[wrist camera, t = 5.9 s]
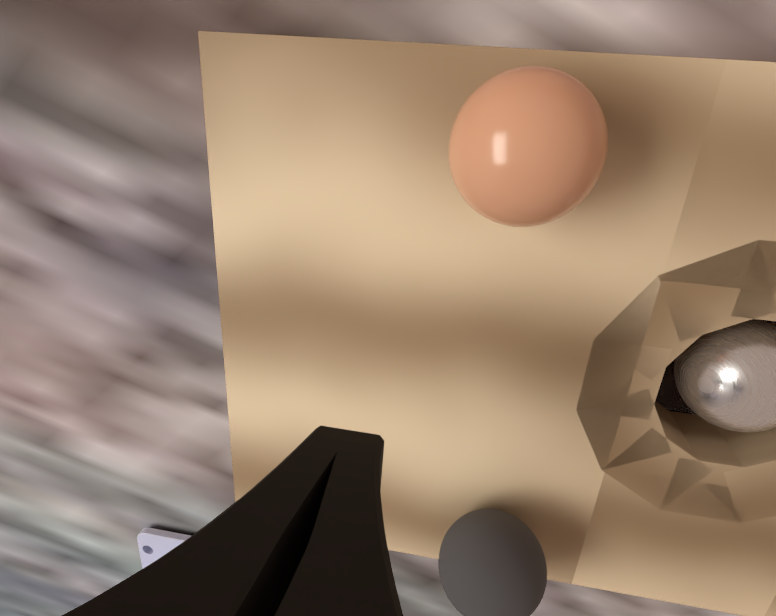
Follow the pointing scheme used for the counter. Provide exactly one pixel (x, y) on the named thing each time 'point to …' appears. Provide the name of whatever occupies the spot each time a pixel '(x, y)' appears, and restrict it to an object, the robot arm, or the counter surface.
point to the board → (501, 302)
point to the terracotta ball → (528, 146)
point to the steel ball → (731, 377)
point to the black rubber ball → (492, 565)
